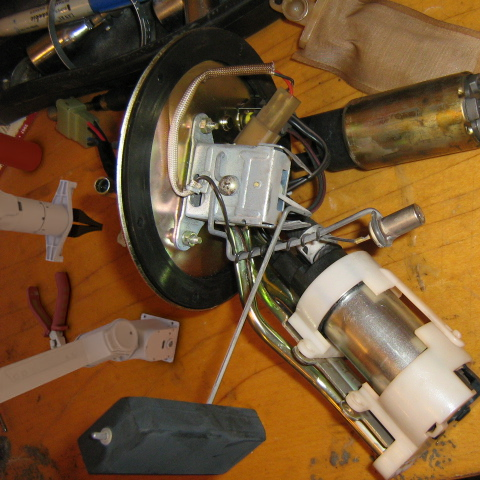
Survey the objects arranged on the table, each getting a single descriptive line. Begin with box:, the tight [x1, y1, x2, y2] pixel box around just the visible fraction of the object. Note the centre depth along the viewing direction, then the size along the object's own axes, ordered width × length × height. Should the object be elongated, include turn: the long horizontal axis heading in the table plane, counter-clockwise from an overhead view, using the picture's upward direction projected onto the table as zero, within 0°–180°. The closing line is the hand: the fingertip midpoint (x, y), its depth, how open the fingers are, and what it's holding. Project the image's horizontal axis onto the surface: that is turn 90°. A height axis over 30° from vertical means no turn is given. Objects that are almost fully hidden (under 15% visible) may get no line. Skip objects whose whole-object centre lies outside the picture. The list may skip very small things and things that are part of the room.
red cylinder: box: [0, 132, 43, 172], centre depth 106 cm, size 7×7×11 cm
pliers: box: [25, 271, 70, 350], centre depth 101 cm, size 12×20×3 cm, turn 20°
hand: (99, 226), depth 90 cm, fingers closed
